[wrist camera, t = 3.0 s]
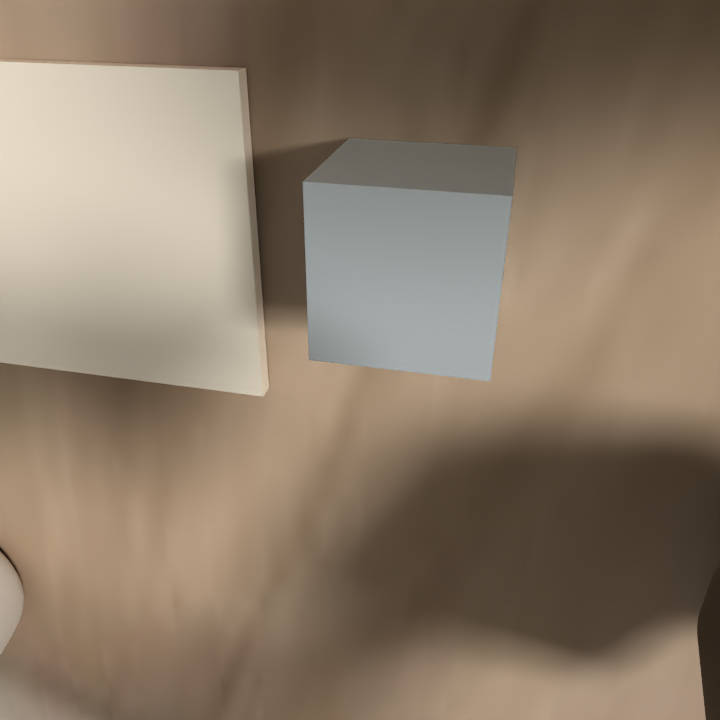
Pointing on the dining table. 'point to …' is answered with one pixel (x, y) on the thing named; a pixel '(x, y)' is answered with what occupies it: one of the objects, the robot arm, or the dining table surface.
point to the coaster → (130, 224)
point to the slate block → (407, 255)
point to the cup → (9, 601)
